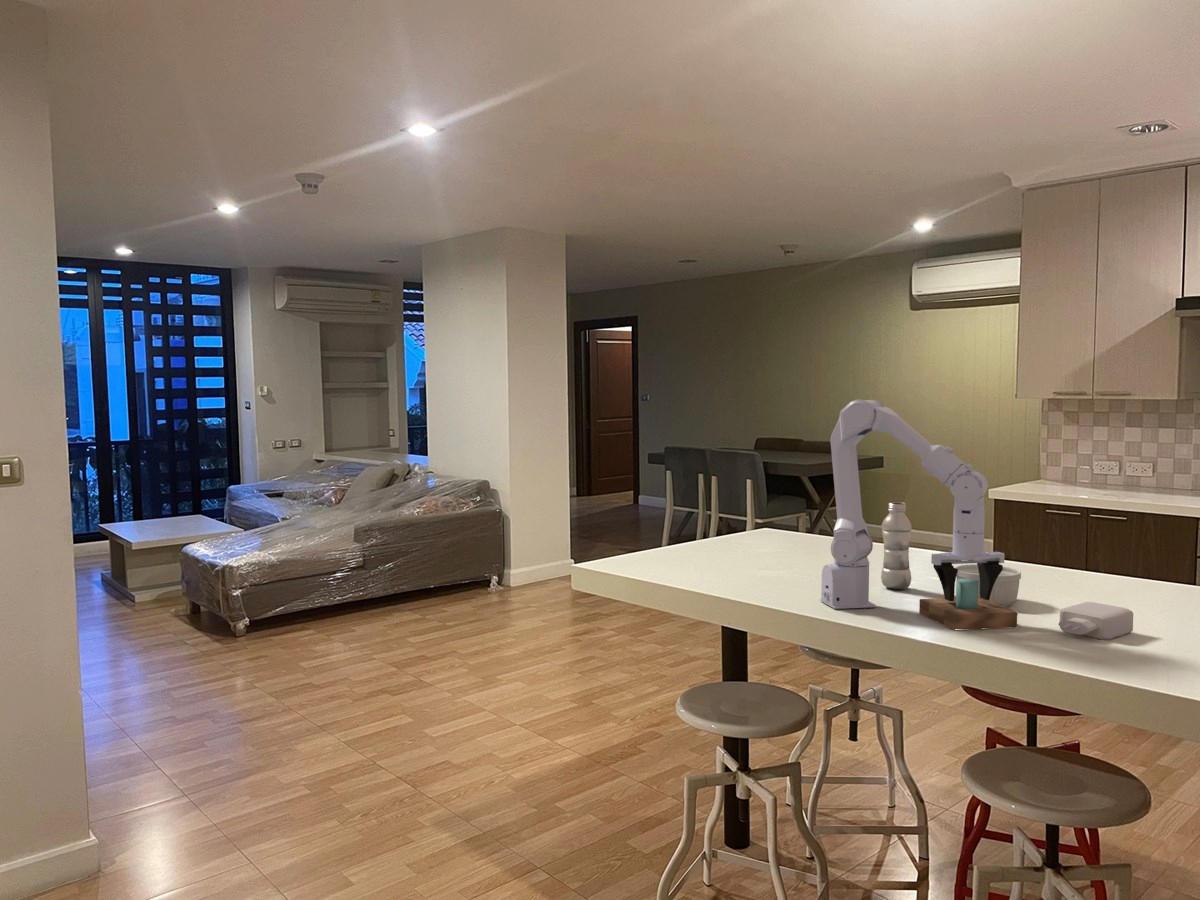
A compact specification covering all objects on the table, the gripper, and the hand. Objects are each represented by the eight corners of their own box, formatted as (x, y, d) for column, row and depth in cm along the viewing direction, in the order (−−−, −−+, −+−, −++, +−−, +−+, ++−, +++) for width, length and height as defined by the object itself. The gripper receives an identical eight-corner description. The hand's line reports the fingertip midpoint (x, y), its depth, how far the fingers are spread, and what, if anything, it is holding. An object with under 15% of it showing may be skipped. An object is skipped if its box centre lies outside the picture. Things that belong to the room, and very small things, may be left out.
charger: (1042, 636, 159) (1082, 624, 168) (1094, 647, 152) (1132, 634, 160) (1043, 611, 159) (1082, 600, 168) (1094, 621, 152) (1133, 609, 160)
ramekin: (942, 600, 188) (943, 568, 187) (971, 591, 196) (972, 561, 196) (1003, 611, 177) (1004, 578, 177) (1031, 601, 186) (1032, 570, 186)
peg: (962, 623, 168) (963, 583, 167) (951, 618, 172) (952, 579, 171) (981, 622, 168) (982, 582, 168) (969, 617, 172) (970, 578, 172)
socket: (954, 630, 163) (954, 614, 162) (919, 613, 175) (919, 599, 175) (1016, 627, 164) (1017, 612, 164) (977, 611, 177) (978, 596, 177)
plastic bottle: (913, 592, 195) (914, 505, 194) (882, 591, 196) (883, 504, 195) (908, 586, 201) (910, 502, 200) (878, 585, 202) (880, 501, 201)
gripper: (945, 535, 164) (944, 605, 165) (1014, 533, 166) (1013, 602, 167) (926, 530, 171) (925, 597, 172) (993, 528, 173) (991, 594, 174)
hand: (967, 599), depth 170 cm, fingers open, 7 cm apart
